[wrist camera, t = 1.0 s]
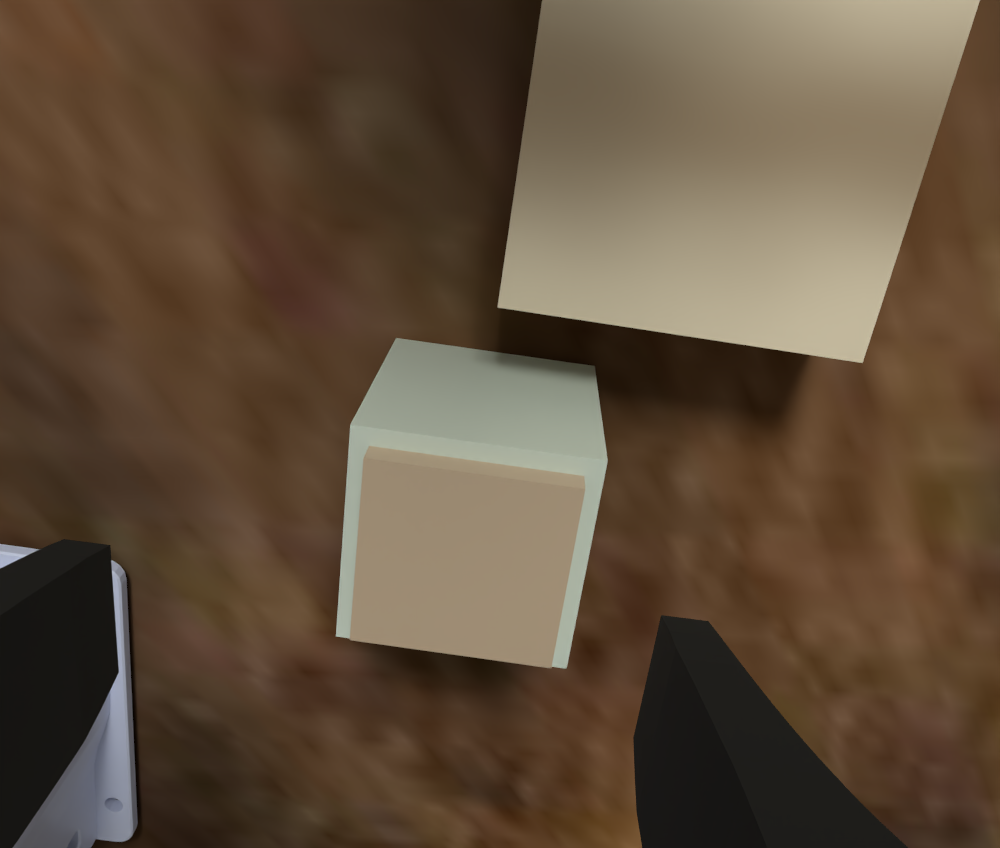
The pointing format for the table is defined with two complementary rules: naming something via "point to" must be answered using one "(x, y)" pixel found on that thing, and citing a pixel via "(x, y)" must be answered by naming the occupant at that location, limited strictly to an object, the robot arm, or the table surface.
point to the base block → (727, 163)
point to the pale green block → (471, 504)
